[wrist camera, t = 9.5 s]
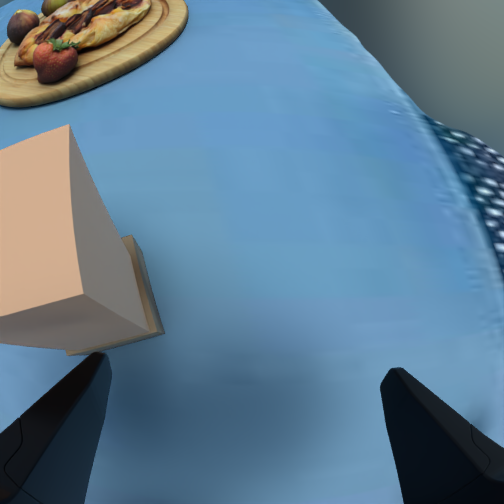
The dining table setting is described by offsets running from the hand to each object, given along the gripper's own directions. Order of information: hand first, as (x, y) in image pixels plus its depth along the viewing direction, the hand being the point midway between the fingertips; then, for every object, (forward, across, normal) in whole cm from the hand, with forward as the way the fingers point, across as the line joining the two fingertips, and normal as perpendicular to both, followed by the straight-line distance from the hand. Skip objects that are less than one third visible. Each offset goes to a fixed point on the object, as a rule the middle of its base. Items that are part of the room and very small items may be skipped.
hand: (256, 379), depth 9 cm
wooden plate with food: (+37, +25, -18) cm, 48 cm away
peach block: (+9, +8, +5) cm, 13 cm away
